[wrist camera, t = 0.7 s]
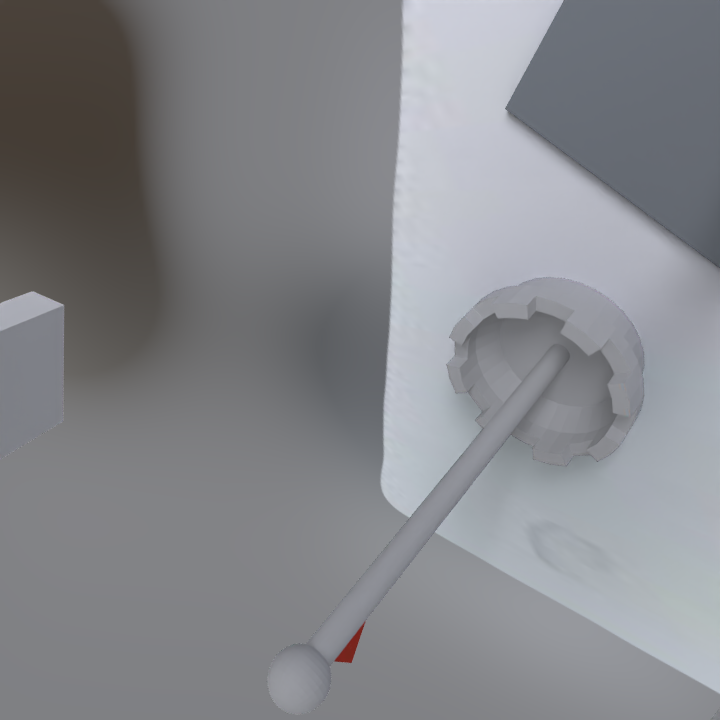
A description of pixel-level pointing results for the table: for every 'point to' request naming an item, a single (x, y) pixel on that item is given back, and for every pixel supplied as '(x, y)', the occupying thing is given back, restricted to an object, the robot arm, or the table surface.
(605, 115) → the mat
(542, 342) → the flag stand
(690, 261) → the table surface
